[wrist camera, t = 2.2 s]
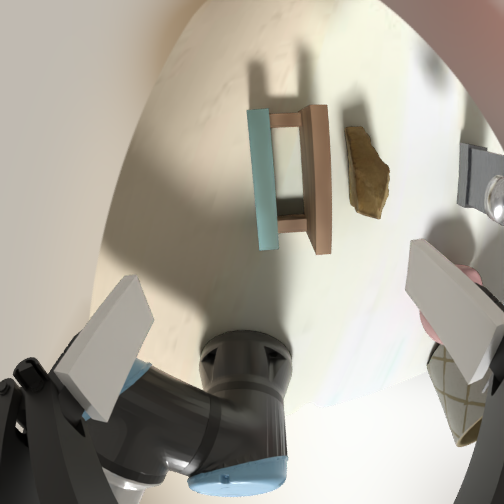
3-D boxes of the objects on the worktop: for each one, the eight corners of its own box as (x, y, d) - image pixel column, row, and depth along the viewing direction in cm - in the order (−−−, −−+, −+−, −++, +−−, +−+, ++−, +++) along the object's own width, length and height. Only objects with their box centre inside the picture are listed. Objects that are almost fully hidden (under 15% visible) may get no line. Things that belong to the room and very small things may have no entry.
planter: (458, 302, 38) (517, 377, 20) (501, 316, 40) (547, 373, 22) (405, 377, 46) (436, 454, 28) (455, 378, 48) (486, 438, 30)
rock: (329, 108, 26) (304, 193, 29) (401, 116, 20) (373, 219, 22) (373, 141, 33) (353, 209, 36) (429, 155, 27) (408, 231, 30)
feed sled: (259, 230, 34) (259, 259, 27) (249, 114, 28) (245, 108, 21) (316, 226, 34) (331, 253, 26) (310, 111, 28) (327, 104, 21)
